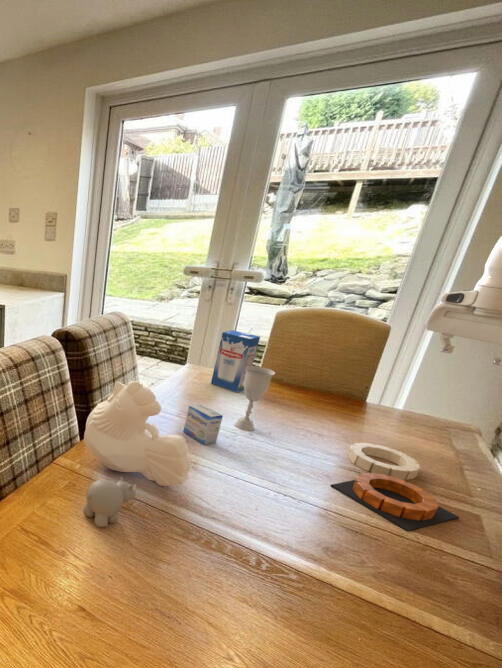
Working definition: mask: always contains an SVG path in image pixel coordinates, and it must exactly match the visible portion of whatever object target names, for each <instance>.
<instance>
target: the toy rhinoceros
mask: <svg viewBox="0 0 502 668" xmlns="http://www.w3.org/2000/svg"><path fill="white" fill-rule="evenodd" d="M136 490H137V485H136V483H134V484H130V483H128V482H127V481H125V480H124V476H120V478H119V481H118V482H114V481H112V480H109V479H98V480H96V481H94V482H92V483H91V484H90V485H89V487H88V488H87V490H86V496H85V497H86V498H85V499H86V503H85V505H84V506H83V510H82V512H83V515H84V516H86V517H88V518H94V525H95V526H96V527H98V528H106V527H108V523H111V524H116V523H118V521H119V519H120V518H119V517H120V515H119V512H120V511H121V509H122V508H123V505H124V503H127V502H130V501H133V500H134V499H135V497H136V496H137V495H136Z"/></svg>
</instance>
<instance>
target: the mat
mask: <svg viewBox="0 0 502 668" xmlns="http://www.w3.org/2000/svg"><path fill="white" fill-rule="evenodd" d="M355 480H356V479H351V480H348V481H342V482H337V483H333V484H330V487H331V488H332V489H334V490H336V491H338V492H339V493H341V494H343V495H345V496H347V498H350V499H352V500H353V501H355V502H356V503H358V504H360V505H362V506H363V507H365V508H367V509H368V510H371V511H372V512H373V513H376V514H377V515H379V516H381V517H382V518H383V519H385V520H387V521H389V522H390V523H392V524H394V525H395V526H397V527H398V528H400V529H402V530H404V531H406V532H407V533H409V532H411V531H416V530H419V529H424V528H427V527H430V526H434V525H438V524H442V523H446V522H449V521H453V520H457V519H459V518H460V516H459V515H457V514H454V513H453V512H451V511H449V510H447V509H445V508H443V507H442V506H439V505H438V509H437V511H436V513H435V514H434V516H433V517H432V518H431V519H427V520H423V521H422V520H412V519H406V518H402V517H401V516H399V517H397V516H395V515H392V514H389V513H386V512H384V511H381V510H380V509H381V508H379V509H376V508H375V507H373V506H371V505H370V504H368V503H366V502H364V501H363V499H360V498H359V497H358V496H357V494H356V493H355V492H354V491H353V486H354V483H355ZM372 488H373V489H374V490H376V491H377V492H379V493H381V494H383V495H385V496H386V497H389V498H392V499H395V500H398V501H400V502H405V503H412V504H415V503H414V502H413V501H412V500H410V499H408V498H407V497H405V496H403V495H401V494H399V493H396V492H393V491H390V490H387V489H382V488H375V487H372Z"/></svg>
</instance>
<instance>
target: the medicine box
mask: <svg viewBox="0 0 502 668" xmlns="http://www.w3.org/2000/svg"><path fill="white" fill-rule="evenodd" d="M223 416H224V415H222V414H221V413H219V412H217V411H215V410H213V409H211V408H208V407H207V406H206V405H205V406H204V405H203V404H201V403H197V404H191V405H189V406H188V408H187V413H186V417H185V421H184V426H183V430H182V431H183V433H184V434H185V433H186V434H185V435H187V434H188V435H187V436H189V437H190V436H191V438H192V437H193V438H192V439H194V440H196V441H197V440H198V441H197V442H199V443H201V444H202V445H204V446H205V445H211V444H215V443H217V441H218V436H219V433H220V428H221V424H222V421H223ZM210 443H211V444H210Z"/></svg>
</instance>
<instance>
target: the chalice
mask: <svg viewBox="0 0 502 668" xmlns="http://www.w3.org/2000/svg"><path fill="white" fill-rule="evenodd" d="M246 371H247V372H246V376H245V380H244V390H243V391H244V394H245V397H246V399H247V400H249V401H248V404H246V406H247V408H246V410H245V416H243V417H240V418H239V419H238V420H237V421H236V422H234V426H235V425H236V426H237V428H238V429H240V428H241V430H242V431H249V432H250V431H254V430H255V425H254V421H253V420H252V419H251V418H250V416H251V414H253V412H252V409H253V408H254V402H257V401H259V400H260V399H261V398H262V397H263V396H264V395H265V394H266V393H267V392H268V390H269V388H270V384H271V381H272V378H273V377H274V375H275V374H276V372H275V371H274V370H272V369H270V368H266V367H263V366H256V365H252V366H247V367H246ZM236 426H235V427H236Z"/></svg>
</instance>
